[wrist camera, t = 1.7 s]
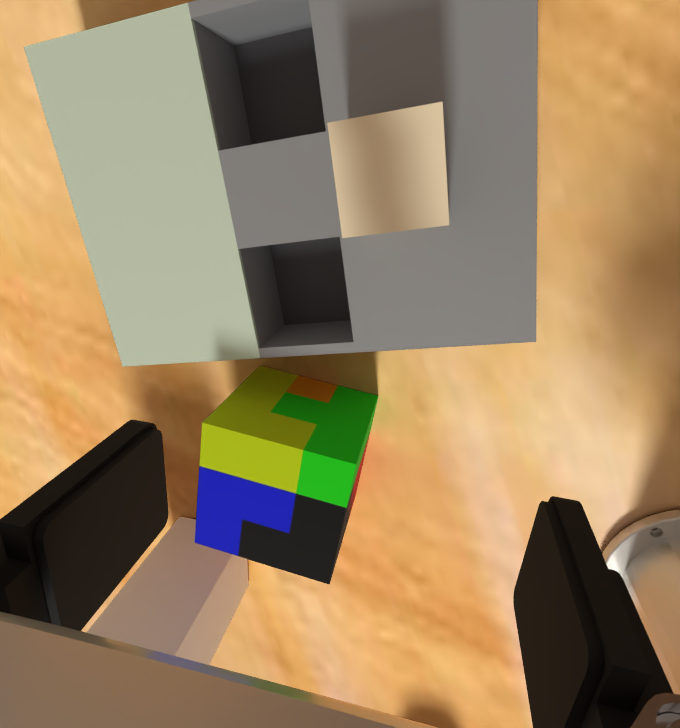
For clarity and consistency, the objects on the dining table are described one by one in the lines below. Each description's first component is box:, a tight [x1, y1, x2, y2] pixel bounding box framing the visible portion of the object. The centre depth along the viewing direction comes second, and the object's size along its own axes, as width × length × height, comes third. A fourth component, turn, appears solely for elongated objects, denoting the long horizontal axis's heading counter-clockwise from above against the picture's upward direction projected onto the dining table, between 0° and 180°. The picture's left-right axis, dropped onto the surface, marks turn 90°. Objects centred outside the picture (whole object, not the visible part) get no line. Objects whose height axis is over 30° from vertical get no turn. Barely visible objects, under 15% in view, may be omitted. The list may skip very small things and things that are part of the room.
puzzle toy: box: [195, 366, 378, 584], centre depth 35 cm, size 10×10×10 cm
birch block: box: [327, 102, 449, 238], centre depth 23 cm, size 5×5×5 cm
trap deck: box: [24, 0, 538, 366], centre depth 30 cm, size 28×20×6 cm
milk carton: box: [87, 517, 249, 665], centre depth 38 cm, size 7×7×19 cm
